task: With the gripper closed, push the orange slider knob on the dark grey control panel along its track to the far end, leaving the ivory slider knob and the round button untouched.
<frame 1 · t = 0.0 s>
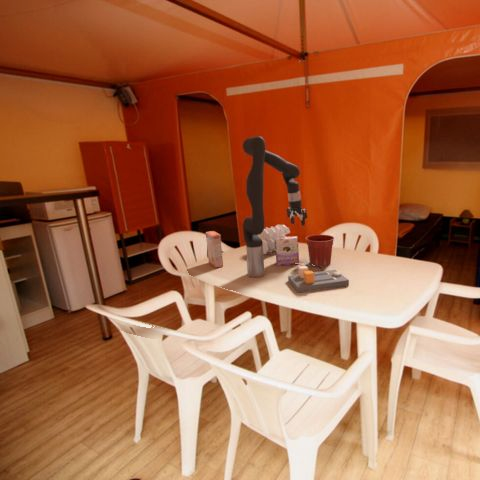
hand: (298, 224, 202), 22 cm above the table, tool pointing down, fingers open, 8 cm apart
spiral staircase: (271, 251, 229), on the table
candy box: (287, 263, 202), on the table
orange slider: (308, 277, 162), point 6 cm above the table, slide at 0.0 cm
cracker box: (216, 264, 210), on the table
flower pot: (320, 264, 196), on the table
panel: (317, 283, 168), on the table
ivory slider: (303, 271, 169), point 6 cm above the table, slide at 0.0 cm
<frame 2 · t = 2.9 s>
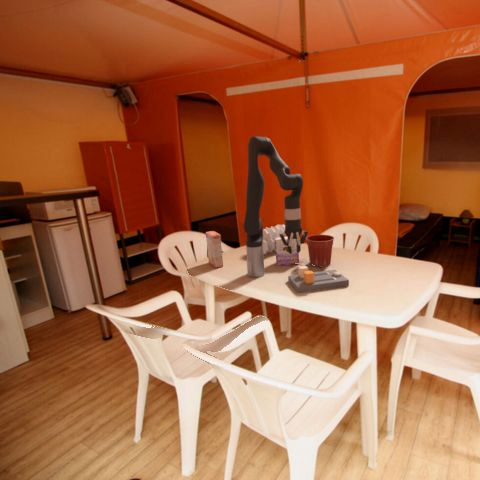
hand: (294, 252, 157), 19 cm above the table, tool pointing down, fingers open, 3 cm apart
nothing on the table moved.
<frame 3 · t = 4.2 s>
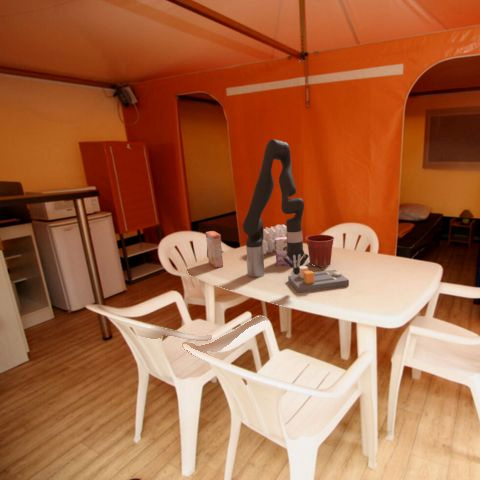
hand: (296, 274, 160), 8 cm above the table, tool pointing down, fingers closed
nothing on the table moved.
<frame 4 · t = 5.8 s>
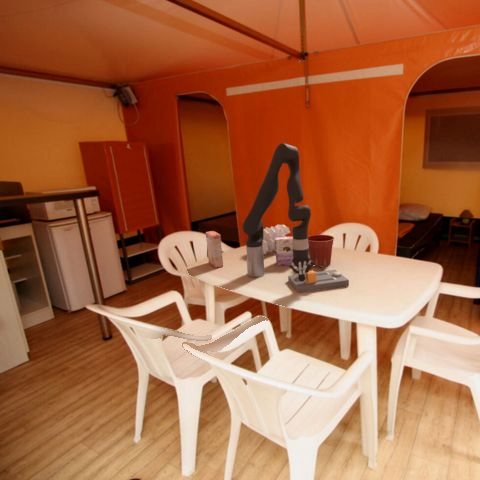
hand: (301, 280, 161), 4 cm above the table, tool pointing down, fingers closed
orange slider: (310, 276, 162), point 6 cm above the table, slide at 1.0 cm, touching gripper
everything else where it was.
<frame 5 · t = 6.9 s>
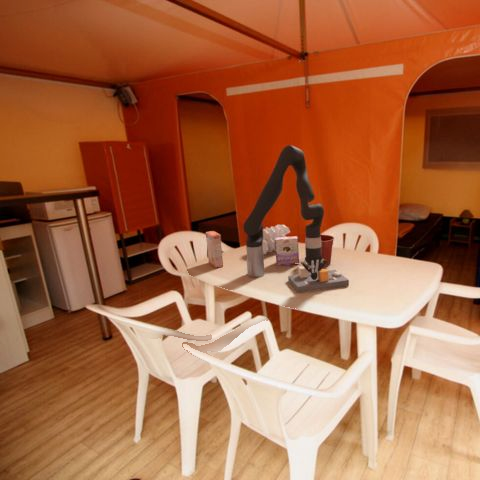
hand: (314, 279, 162), 4 cm above the table, tool pointing down, fingers closed
orange slider: (323, 275, 163), point 6 cm above the table, slide at 7.4 cm, touching gripper
everything else where it was.
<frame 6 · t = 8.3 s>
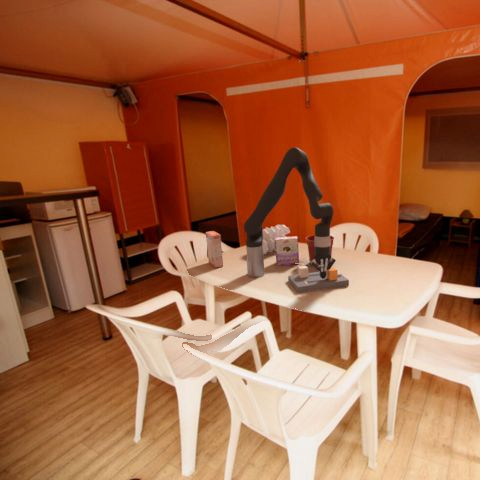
hand: (323, 278, 163), 4 cm above the table, tool pointing down, fingers closed
orange slider: (331, 273, 163), point 6 cm above the table, slide at 12.0 cm, touching gripper
everything else where it was.
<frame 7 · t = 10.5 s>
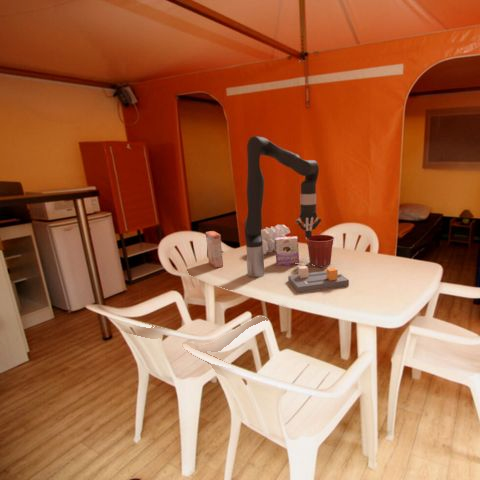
hand: (308, 237, 161), 24 cm above the table, tool pointing down, fingers closed
orange slider: (331, 273, 163), point 6 cm above the table, slide at 12.0 cm
everything else where it was.
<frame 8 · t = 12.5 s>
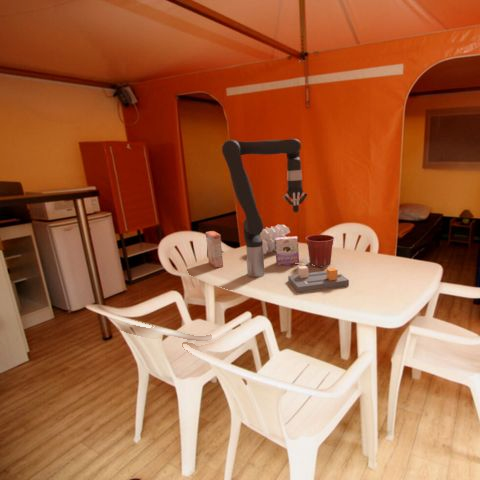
hand: (295, 212, 174), 35 cm above the table, tool pointing down, fingers closed
nothing on the table moved.
at the end: orange slider slide at 12.0 cm; ivory slider slide at 0.0 cm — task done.
